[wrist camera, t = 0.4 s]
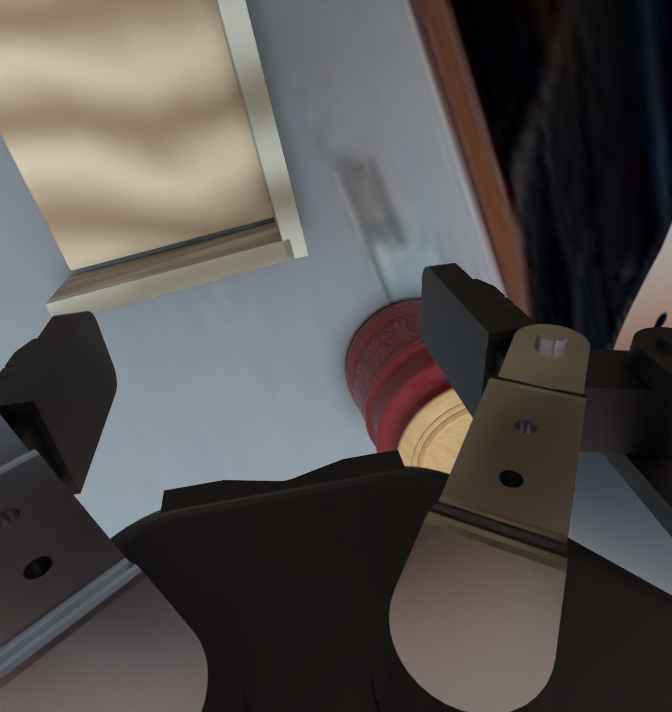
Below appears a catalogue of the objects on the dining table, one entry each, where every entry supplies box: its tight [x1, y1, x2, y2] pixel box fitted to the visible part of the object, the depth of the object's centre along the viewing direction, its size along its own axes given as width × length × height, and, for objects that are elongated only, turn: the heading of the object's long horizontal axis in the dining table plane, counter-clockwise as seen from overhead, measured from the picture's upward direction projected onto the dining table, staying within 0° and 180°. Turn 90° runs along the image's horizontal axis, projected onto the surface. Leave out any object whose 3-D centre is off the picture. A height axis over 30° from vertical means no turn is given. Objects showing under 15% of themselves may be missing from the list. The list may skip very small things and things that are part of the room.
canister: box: [346, 300, 473, 474], centre depth 40 cm, size 13×13×18 cm
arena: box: [0, 0, 308, 317], centre depth 31 cm, size 21×18×6 cm
